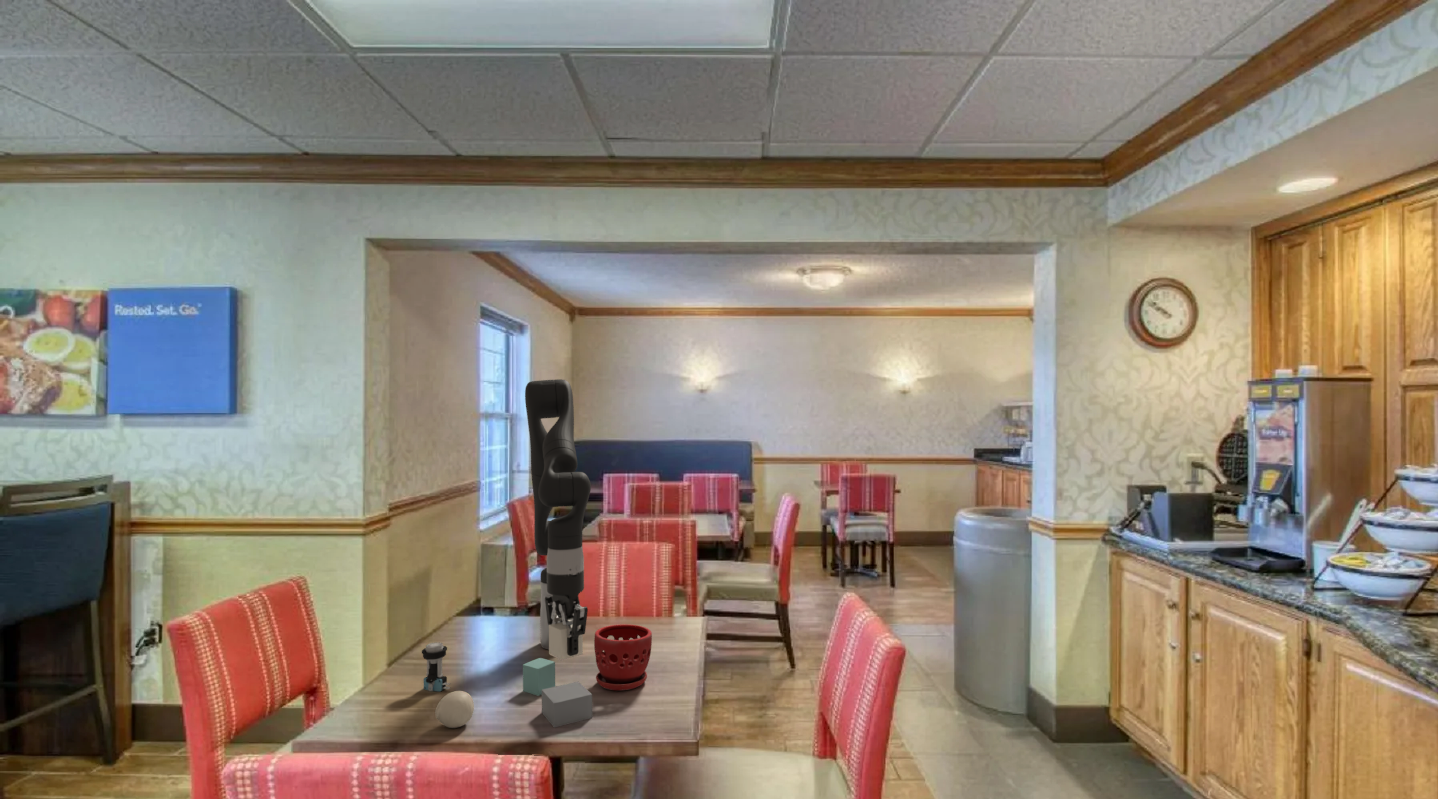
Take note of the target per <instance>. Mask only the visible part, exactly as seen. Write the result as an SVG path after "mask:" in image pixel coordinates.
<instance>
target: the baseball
mask: <svg viewBox="0 0 1438 799" xmlns="http://www.w3.org/2000/svg"><path fill="white" fill-rule="evenodd" d="M434 712H435V719H436V720H437V721H439V722H440V724H442V725H443V726H444V727H446V728H449V729H456V728H461V727H462V726H464V725H466V724H467V723H468V722H469V721H470V720H471V719H472V717H473V714H474V712H475V703H474V699H473V697H472V696H471V695H470V694H469V693H468V692H466V691H463V690H455V691H452V692H448V693H447V694H446V695H444V696H443V697H442V699H440V700H439V702H438V703H437V705H436V708H435V711H434Z"/></svg>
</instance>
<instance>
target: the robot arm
mask: <svg viewBox="0 0 1438 799" xmlns="http://www.w3.org/2000/svg"><path fill="white" fill-rule="evenodd" d="M524 402H525V410H526V418H527V425H528V432H529V445H530V471H531V473H530V474H531V482H532V483H531V485H532V493H533V504H534V505H533V506H534V528H533V529H534V531H533V532H534V536H533V537H534V547H535V550H536V553H537V555H539V556H546V567H544V569H542V570H541V571H540V608H539V609H540V610H539V616H540V618H539V620H540V621H539V622H540V623H539V624H540V626H539V627H540V628H539V630H540V631H539V632H540V634H539V635H540V637H539V638H540V646H541V647H542V648H543V649H545V650H549V625H551V624H557V623H559V622H563V626H565V627H566V629H567V636H568V637H567V654H568V655H569V656H572V655H576V654H578V637H579V635H583V636H584V635H585V634H586V628H587V627H586V626H587V622H588V621H587V620H588V619H587V618H588V612H589V611H588V610H589V609H588V607H587V606H582V605H581V603H580V599H579V594H581V593H582V592H583V591H584V589H585V563H584V562H585V557H584V556H585V555H584V548H583V527H584V526H583V524H584V517H585V512H586V509H587V505H588V501H589V498H590V494H591V491H592V490H591V489H592V485H591V484H592V483H591V481H590V479H589V476H588V475H587V474H586V473H585V472H583V471H577V469H578V458H577V452H576V446H575V445H576V444H575V438H574V434H575V429H574V428H575V415H574V414H575V412H574V395H573V389H572V386H571V384H570V382H569V381H568V380H566V379H559V378H557V379H543V380H533V381H529V382H527V384H526V386H525V391H524ZM555 418H558V419H557V421H555V423H554V424H553V426H552V427H551V428H550V429H549V430H548V432H547V430H546V427H545V426H544V424H543V421H542V419H555ZM558 507H572V509H571V510H570V511H569V513H568V514H566V515H562V516H560V517H556V518H553V519H551V520H548V517H549V515H550V513H551V511H552V509H553V508H558ZM568 620H572V621H568ZM572 624H573V625H572ZM571 625H572V631H571ZM579 625H581V627H580V626H579Z"/></svg>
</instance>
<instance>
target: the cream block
mask: <svg viewBox="0 0 1438 799" xmlns="http://www.w3.org/2000/svg"><path fill="white" fill-rule="evenodd" d="M568 621H572V620H568ZM572 625H573V624H572ZM572 625H571V631H572ZM579 626H580V627H581V625H579ZM583 636H584V634H583V635H579V637H578V654H576V655H572V656H569V655H568V654H567V637H568V636H567V629H566V627H565V626H563V622H559V623H557V624H551V625H549V649H548V654H549V655H550V656H552V657H554V658H556V659H558V661H559V660H560V661H564V660H568V659H571V658H574V657H575V658H576V657H579V656H582V655H584V651H583V648H584V647H583V642H584V641H583V639H584V638H583Z"/></svg>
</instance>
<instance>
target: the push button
mask: <svg viewBox="0 0 1438 799" xmlns="http://www.w3.org/2000/svg"><path fill="white" fill-rule="evenodd" d="M447 651H448V647H447V646H446V645H444V643H443V642H431V643H428V644H426V645H425V648H422V649H421V654H422V657H423V659H424V660H426V673H425V677H424V678H423V690H426V691H428V692H441V691H444V690H445V689H446V690H450V689H451V687H450V685H451V684H452V683H450V682H448V680H447V679H448V678H447V675H444V674H443V658H444V657H445V656H447Z"/></svg>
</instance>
